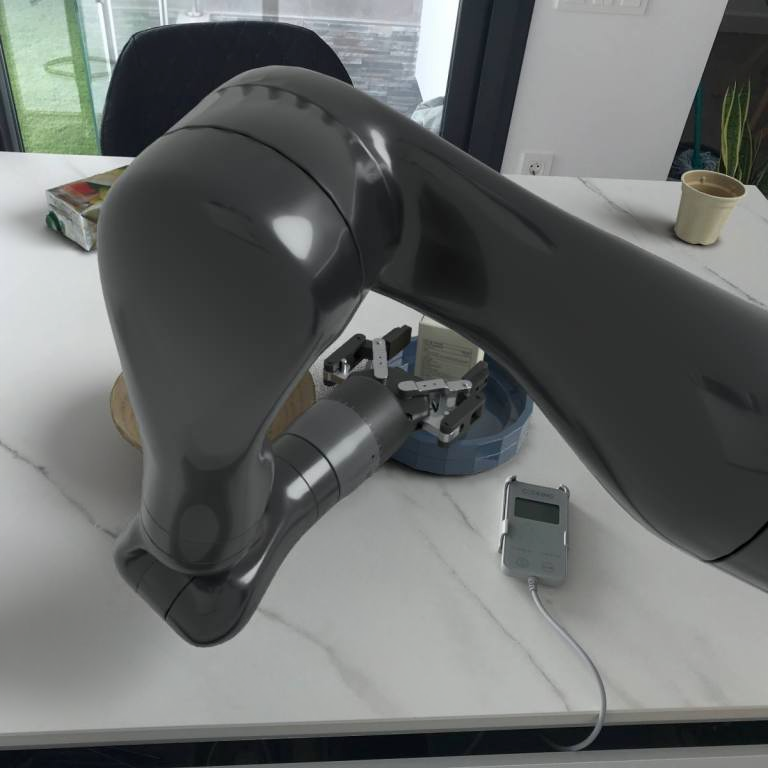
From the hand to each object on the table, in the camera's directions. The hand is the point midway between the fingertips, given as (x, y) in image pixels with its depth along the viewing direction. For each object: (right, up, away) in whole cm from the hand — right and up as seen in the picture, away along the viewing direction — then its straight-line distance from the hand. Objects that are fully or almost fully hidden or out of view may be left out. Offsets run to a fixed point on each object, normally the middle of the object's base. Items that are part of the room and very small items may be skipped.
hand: (444, 350), depth 74 cm
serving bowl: (0, -7, +8) cm, 10 cm away
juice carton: (-42, +20, +36) cm, 59 cm away
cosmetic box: (0, -6, +8) cm, 10 cm away
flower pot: (+42, +19, +45) cm, 64 cm away
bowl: (-22, -10, +2) cm, 24 cm away
